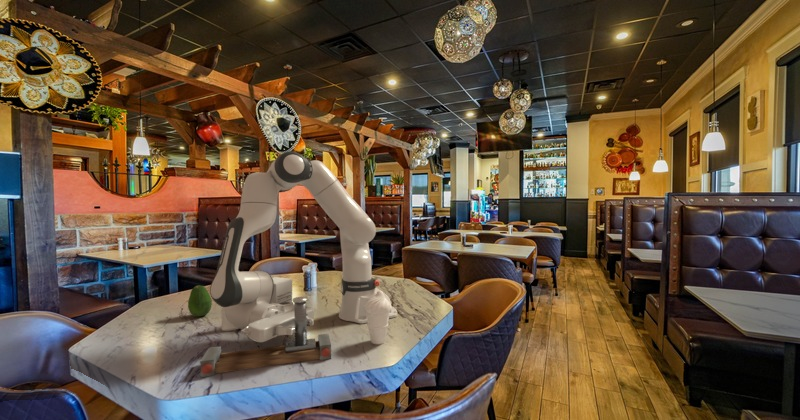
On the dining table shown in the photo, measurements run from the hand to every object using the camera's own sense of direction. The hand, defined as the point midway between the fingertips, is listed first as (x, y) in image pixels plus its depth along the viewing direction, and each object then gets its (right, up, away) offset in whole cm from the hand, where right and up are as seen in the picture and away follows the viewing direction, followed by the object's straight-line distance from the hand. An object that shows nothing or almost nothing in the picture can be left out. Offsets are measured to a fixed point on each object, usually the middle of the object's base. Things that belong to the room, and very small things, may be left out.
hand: (303, 327), depth 92 cm
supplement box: (-19, -8, +30) cm, 37 cm away
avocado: (-50, -8, +35) cm, 61 cm away
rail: (-8, -9, -2) cm, 12 cm away
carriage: (-1, -7, 0) cm, 7 cm away
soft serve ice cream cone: (+20, -8, +10) cm, 24 cm away
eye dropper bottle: (-31, -8, +22) cm, 39 cm away
